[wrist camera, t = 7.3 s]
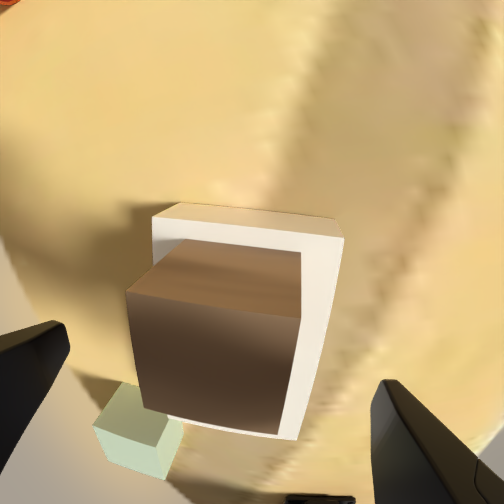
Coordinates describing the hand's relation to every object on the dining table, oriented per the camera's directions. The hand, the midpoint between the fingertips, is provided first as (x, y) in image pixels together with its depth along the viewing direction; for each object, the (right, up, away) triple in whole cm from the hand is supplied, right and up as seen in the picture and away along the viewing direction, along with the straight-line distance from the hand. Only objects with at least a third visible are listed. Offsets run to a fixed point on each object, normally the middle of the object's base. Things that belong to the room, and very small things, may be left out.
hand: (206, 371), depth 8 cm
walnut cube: (+1, +1, +4) cm, 5 cm away
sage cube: (-6, -8, +12) cm, 15 cm away
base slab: (+1, 0, +8) cm, 8 cm away
